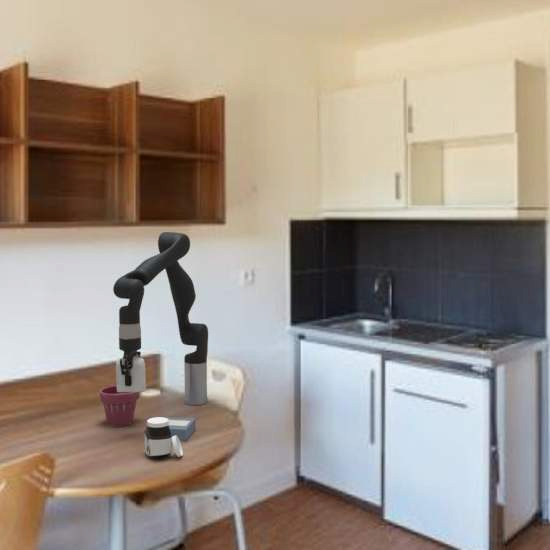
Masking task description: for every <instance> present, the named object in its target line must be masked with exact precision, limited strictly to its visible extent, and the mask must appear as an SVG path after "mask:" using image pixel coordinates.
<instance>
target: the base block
mask: <svg viewBox="0 0 550 550" xmlns="http://www.w3.org/2000/svg"><path fill="white" fill-rule="evenodd" d="M162 417H163V418H167V419H169V424H168V425H169V427H170V430H171V434H172V436H175V435H177V436H178V438H179V440H180V442H187V440H188V439H190V437H191V436H192V434H193V433H194V432H195V431H196V430H197V427H196V423H197V422H196V420H197V419H196V418H190V417H189V418H187V417H167V416H162Z"/></svg>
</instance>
